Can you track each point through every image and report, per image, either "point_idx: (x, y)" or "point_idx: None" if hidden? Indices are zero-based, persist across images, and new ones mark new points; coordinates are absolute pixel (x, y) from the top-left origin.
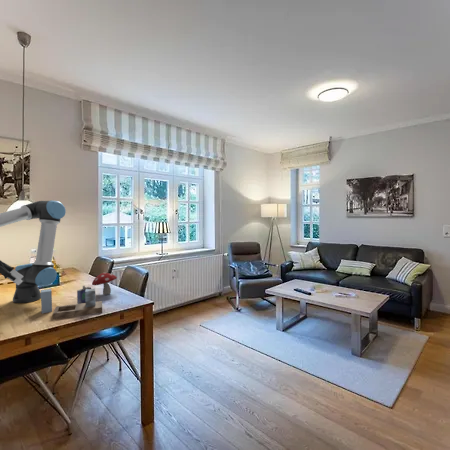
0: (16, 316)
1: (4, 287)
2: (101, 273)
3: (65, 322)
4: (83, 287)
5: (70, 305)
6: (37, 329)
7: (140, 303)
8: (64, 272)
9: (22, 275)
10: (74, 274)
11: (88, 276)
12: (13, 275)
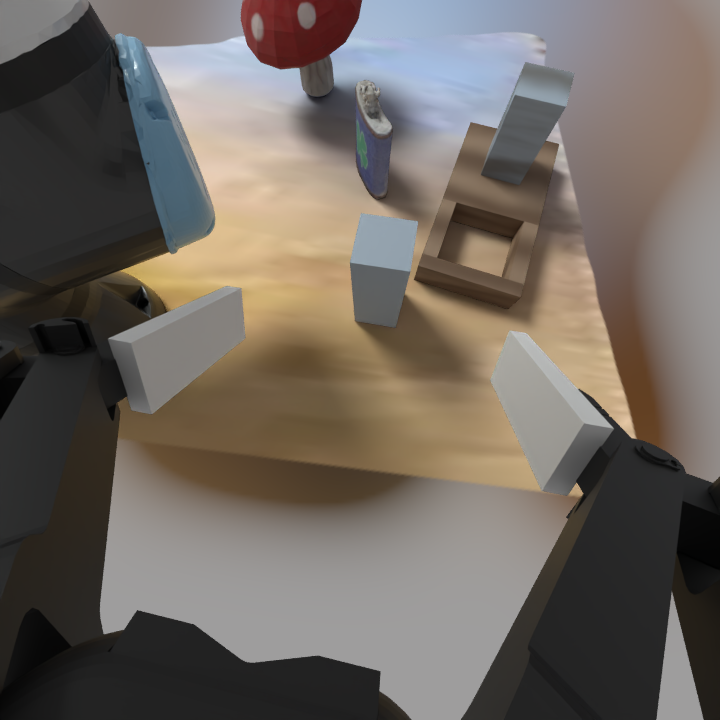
0: (358, 419)
1: None
2: None
3: (581, 284)
4: (373, 99)
5: (447, 219)
6: (604, 380)
7: (526, 55)
8: None
9: (219, 290)
10: None
11: None
12: (582, 408)
